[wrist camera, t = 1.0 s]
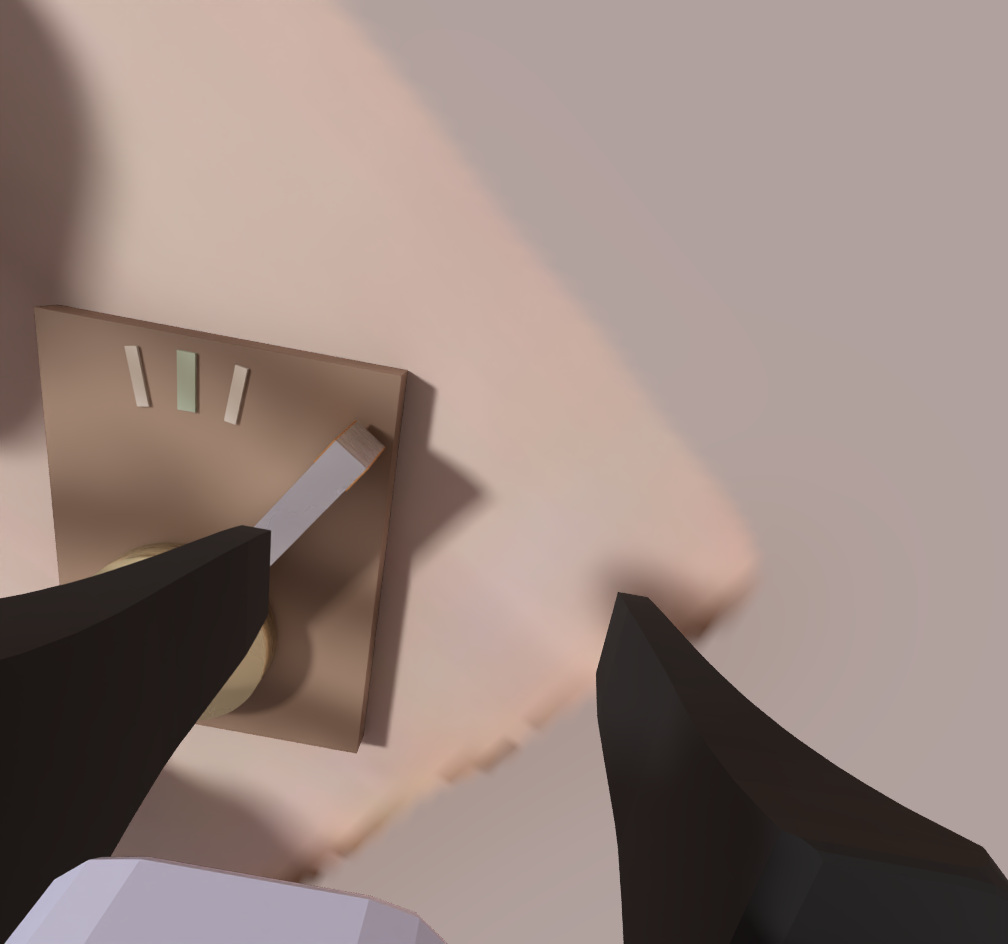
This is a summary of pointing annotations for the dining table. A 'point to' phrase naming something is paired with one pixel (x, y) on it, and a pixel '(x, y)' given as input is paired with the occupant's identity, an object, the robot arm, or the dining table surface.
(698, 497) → the dining table surface
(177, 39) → the dining table surface
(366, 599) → the lever switch plate
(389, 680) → the dining table surface
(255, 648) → the switch lever
